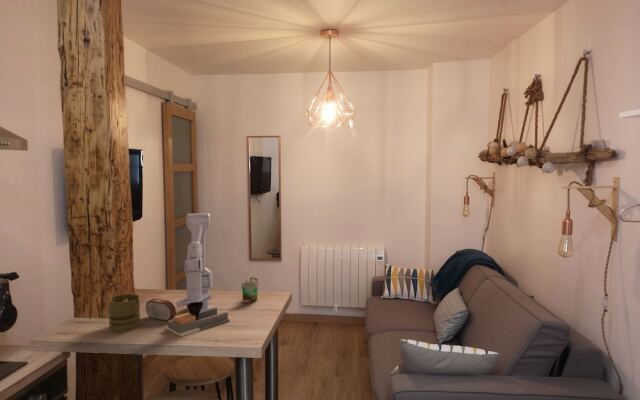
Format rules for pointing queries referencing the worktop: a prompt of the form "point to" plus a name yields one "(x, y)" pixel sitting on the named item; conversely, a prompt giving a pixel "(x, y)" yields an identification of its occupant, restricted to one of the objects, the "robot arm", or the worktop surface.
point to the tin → (160, 309)
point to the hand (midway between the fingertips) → (195, 320)
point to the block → (184, 318)
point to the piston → (124, 313)
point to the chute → (199, 322)
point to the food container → (250, 290)
